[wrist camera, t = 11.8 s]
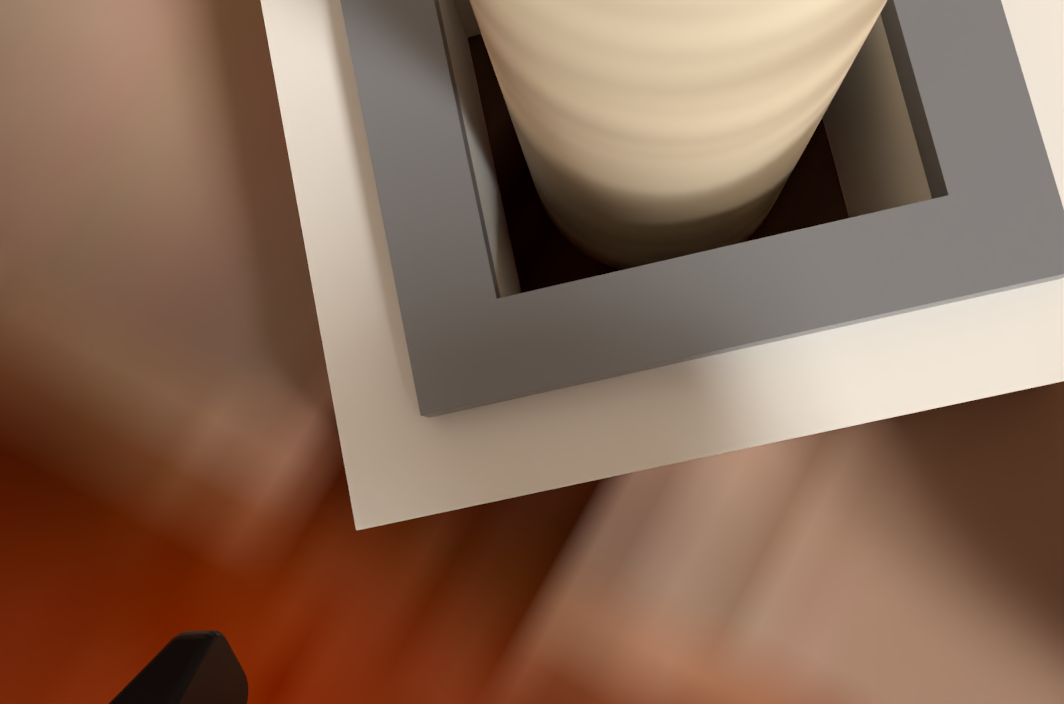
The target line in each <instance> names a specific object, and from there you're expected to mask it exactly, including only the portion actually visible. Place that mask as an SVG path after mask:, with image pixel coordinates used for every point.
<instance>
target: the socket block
mask: <svg viewBox="0 0 1064 704" xmlns="http://www.w3.org/2000/svg"><path fill="white" fill-rule="evenodd" d="M261 6H262V11H263V17H264V22H265V28H266V34H267V39H268V45H269V50H270V56H271V61H272V67H273V72H274V78H275V83H276V89H277V95H278V100H279V106H280V111H281V117H282V122H283V128H284V133H285V139H286V144H287V150H288V156H289V161H290V167H291V172H292V178H293V183H294V189H295V194H296V200H297V205H298V211H299V217H300V222H301V228H302V233H303V239H304V244H305V250H306V255H307V261H308V266H309V272H310V278H311V283H312V289H313V294H314V300H315V305H316V311H317V316H318V322H319V327H320V333H321V339H322V344H323V350H324V355H325V361H326V366H327V372H328V377H329V383H330V388H331V394H332V399H333V405H334V411H335V416H336V422H337V427H338V433H339V438H340V444H341V449H342V455H343V460H344V466H345V472H346V477H347V483H348V488H349V494H350V499H351V505H352V510H353V516H354V521H355V527H356V531H357V530H362V529H367V528H371V527H376V526H381V525H385V524H390V523H395V522H400V521H404V520H409V519H414V518H419V517H423V516H428V515H433V514H438V513H442V512H447V511H452V510H456V509H461V508H466V507H471V506H475V505H480V504H485V503H490V502H494V501H499V500H504V499H509V498H513V497H518V496H523V495H527V494H532V493H537V492H542V491H546V490H551V489H556V488H561V487H565V486H570V485H575V484H580V483H584V482H589V481H594V480H598V479H603V478H608V477H613V476H617V475H622V474H627V473H632V472H636V471H641V470H646V469H651V468H655V467H660V466H665V465H669V464H674V463H679V462H684V461H688V460H693V459H698V458H703V457H707V456H712V455H717V454H722V453H726V452H731V451H736V450H740V449H745V448H750V447H755V446H759V445H764V444H769V443H774V442H778V441H783V440H788V439H793V438H797V437H802V436H807V435H811V434H816V433H821V432H826V431H830V430H835V429H840V428H845V427H849V426H854V425H859V424H864V423H868V422H873V421H878V420H882V419H887V418H892V417H897V416H901V415H906V414H911V413H916V412H920V411H925V410H930V409H935V408H939V407H944V406H949V405H953V404H958V403H963V402H968V401H972V400H977V399H982V398H987V397H991V396H996V395H1001V394H1006V393H1010V392H1015V391H1020V390H1024V389H1029V388H1034V387H1039V386H1043V385H1048V384H1053V383H1058V382H1062V381H1064V0H887V2H886V4H885V6H884V7H883V9H882V11H881V13H880V15H879V16H878V18H877V20H876V22H875V24H874V25H873V27H872V29H871V31H870V33H869V34H868V36H867V38H866V40H865V42H864V43H863V45H862V47H861V49H860V51H859V52H858V54H857V56H856V58H855V60H854V61H853V63H852V65H851V67H850V69H849V70H848V72H847V74H846V76H845V78H844V79H843V81H842V83H841V85H840V87H839V88H838V90H837V92H836V94H835V96H834V97H833V99H832V101H831V103H830V105H829V106H828V108H827V110H826V112H825V114H824V115H823V117H822V118H823V122H824V126H825V130H826V133H827V137H828V141H829V145H830V148H831V152H832V156H833V160H834V163H835V167H836V171H837V175H838V178H839V182H840V186H841V190H842V193H843V197H844V201H845V205H846V208H847V212H848V216H849V218H847V219H843V220H838V221H834V222H830V223H825V224H821V225H817V226H812V227H808V228H803V229H799V230H795V231H790V232H786V233H782V234H777V235H773V236H769V237H764V238H760V239H755V240H751V241H747V242H742V243H738V244H734V245H729V246H725V247H720V248H716V249H712V250H707V251H703V252H699V253H694V254H690V255H686V256H681V257H677V258H672V259H668V260H664V261H659V262H655V263H651V264H646V265H642V266H638V267H633V268H629V269H624V270H620V271H616V272H611V273H607V274H603V275H598V276H594V277H590V278H585V279H581V280H576V281H572V282H568V283H563V284H559V285H555V286H550V287H546V288H541V289H537V290H533V291H528V292H524V293H522V292H521V287H520V282H519V278H518V273H517V268H516V264H515V259H514V254H513V250H512V245H511V240H510V235H509V231H508V226H507V221H506V217H505V212H504V207H503V202H502V198H501V193H500V188H499V184H498V179H497V174H496V170H495V165H494V160H493V155H492V151H491V146H490V141H489V137H488V132H487V127H486V122H485V118H484V113H483V108H482V104H481V99H480V94H479V90H478V85H477V80H476V75H475V71H474V66H473V61H472V57H471V52H470V47H469V43H468V37H472V36H476V35H480V34H481V31H480V28H479V26H478V23H477V20H476V17H475V14H474V11H473V9H472V6H471V3H470V0H261Z"/></svg>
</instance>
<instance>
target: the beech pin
mask: <svg viewBox="0 0 1064 704" xmlns="http://www.w3.org/2000/svg"><path fill="white" fill-rule="evenodd" d="M886 2H887V0H470V3H471V6H472V9H473V11H474V14H475V17H476V20H477V23H478V26H479V28H480V31H481V34H482V37H483V40H484V43H485V46H486V48H487V51H488V54H489V57H490V60H491V63H492V66H493V68H494V71H495V74H496V77H497V80H498V83H499V85H500V88H501V91H502V94H503V97H504V100H505V103H506V105H507V108H508V111H509V114H510V117H511V120H512V122H513V125H514V128H515V131H516V134H517V137H518V140H519V142H520V145H521V148H522V151H523V154H524V157H525V159H526V162H527V165H528V168H529V171H530V174H531V177H532V179H533V182H534V185H535V188H536V191H537V194H538V196H539V198H540V201H541V203H542V205H543V208H544V209H545V211H546V213H547V214H548V216H549V218H550V219H551V221H552V222H553V224H554V225H555V226H556V227H557V229H558V230H559V231H560V232H561V234H562V235H563V236H564V237H565V238H566V239H568V240H569V241H570V242H571V243H572V244H573V245H574V246H575V247H577V248H578V249H579V250H581V251H582V252H583V253H585V254H586V255H588V256H590V257H591V258H593V259H595V260H597V261H599V262H601V263H603V264H605V265H608V266H611V267H613V268H616V269H619V270H624V269H629V268H633V267H638V266H642V265H646V264H651V263H655V262H659V261H664V260H668V259H672V258H677V257H681V256H686V255H690V254H694V253H699V252H703V251H707V250H712V249H716V248H720V247H725V246H729V245H734V244H738V243H742V242H745V241H746V240H747V239H748V238H749V237H750V236H751V235H752V234H753V233H754V232H755V231H756V230H757V229H758V228H759V227H760V225H761V224H762V223H763V221H764V220H765V219H766V217H767V216H768V214H769V212H770V211H771V209H772V207H773V205H774V204H775V202H776V200H777V198H778V196H779V195H780V193H781V191H782V189H783V187H784V186H785V184H786V182H787V180H788V178H789V177H790V175H791V173H792V171H793V169H794V168H795V166H796V164H797V162H798V160H799V159H800V157H801V155H802V153H803V151H804V150H805V148H806V146H807V144H808V142H809V141H810V139H811V137H812V135H813V133H814V132H815V130H816V128H817V126H818V124H819V123H820V121H821V119H822V117H823V115H824V114H825V112H826V110H827V108H828V106H829V105H830V103H831V101H832V99H833V97H834V96H835V94H836V92H837V90H838V88H839V87H840V85H841V83H842V81H843V79H844V78H845V76H846V74H847V72H848V70H849V69H850V67H851V65H852V63H853V61H854V60H855V58H856V56H857V54H858V52H859V51H860V49H861V47H862V45H863V43H864V42H865V40H866V38H867V36H868V34H869V33H870V31H871V29H872V27H873V25H874V24H875V22H876V20H877V18H878V16H879V15H880V13H881V11H882V9H883V7H884V6H885V4H886Z"/></svg>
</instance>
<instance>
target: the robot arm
mask: <svg viewBox="0 0 1064 704" xmlns="http://www.w3.org/2000/svg"><path fill="white" fill-rule="evenodd" d="M247 700H248V682H247V678H246V675H245V673H244V671H243V669H242V667H241V665H240V663H239V662H238V660H237V658H236V656H235V654H234V652H233V651H232V649H231V647H230V645H229V643H228V641H227V640H226V638H225V636H224V635H223V634H222V633H220V632H219V631H216V630H203V631H186V632H182V633H180V634H179V635H177V636H176V637H174V638H173V639H172V640H171V641H170V642H169V643H168V644H167V645H166V646H165V647H164V648H163V649H162V650H161V651H160V652H159V653H158V654H157V655H156V656H155V657H154V658H153V659H152V660H151V661H150V662H149V663H148V664H147V665H146V666H145V667H144V668H143V669H142V671H141V672H140V673H139V674H138V675H137V676H136V677H135V678H134V679H133V680H132V681H131V682H130V683H129V684H128V685H127V686H126V687H125V688H124V689H123V690H122V691H121V692H120V693H119V694H118V695H117V696H116V697H115V698H114V699H113V700H112V701H111V702H110V703H109V704H247Z"/></svg>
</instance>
